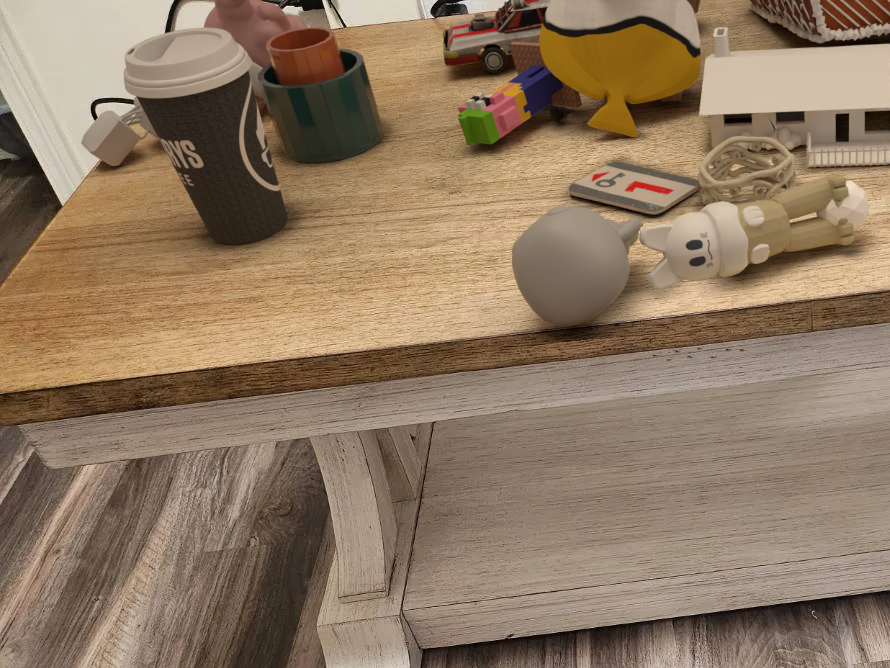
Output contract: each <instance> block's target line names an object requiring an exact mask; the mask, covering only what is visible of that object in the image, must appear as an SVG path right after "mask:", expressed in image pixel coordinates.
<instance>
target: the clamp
mask: <svg viewBox="0 0 890 668" xmlns="http://www.w3.org/2000/svg"><path fill="white" fill-rule="evenodd" d="M262 69H263V68H262V67H261V66H259V65H258V64H256V63H254V62H253V61H252V65H251V67H250V68H249V70H248V71H249V75H250V79H251V82H252V86H253V90H254V94H255V97H257V98H259V99H261V100H263V101H265V100H264V97H263V94H262V91H261V89H260V86H259V83H258V80H257V79H258V73H259V72H260V71H261V70H262ZM133 105H134V107H133V108H131V109H130V110H129V111H127V112H126V113H124V114H121V116H120V115H119V114H117V113H116V112H115V111H113V110H105V111H102V112H101V113H100V114H99V116H98V117H97V118H96V119H95V120H94V122H93V123H92V124H91V125H90V127H89V128H88V129H87V130H86V131H85V133H84V134H83V136H82V139H81V142H80V144H81V145H82V146H83V148H85V149H86V150H87V151H88V153H90V154H91V155H92V156H94V157H96V158H97V159H99V160H100V161H102V162H103V163H105V164H107V165H108V166H112V167H116V166H120V165H121V164H122V162H123V161H124V160H125V159H126V157H127V156H128V155H129V154H130V152H131V151H132V150H133V148H135V146H136V145H137V144H138V143H139V141H142V140H144V139H145V138H147V136H148V135H149V134H150V135H152V136H153V137H154V138H156V139H157V140H159V138H158V136H157V134H156V132H155V130H154V129H153V127H152V125H151V123H150V121H149V119H148V117H147V116H146V114H145V112H144V110H143V108H142V106H141V104H140V103H139V101H138V99H137V97H136V96H134V97H133ZM136 119H138V120H136ZM132 120H135V121H132ZM138 124H139V125H140V127H141V128H142V129H144V130H145V132H144V134H143V135H141V136H140V135H139V134H137V132H136V131H135V130H134V129H133V128H132V127H131V126H133V125H138Z"/></svg>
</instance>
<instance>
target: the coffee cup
mask: <svg viewBox="0 0 890 668" xmlns="http://www.w3.org/2000/svg"><path fill="white" fill-rule="evenodd" d="M124 63H125V68H124V70H123V83H124V89H125V91H126V92H127V93H128V94H130V95H132V96H134V97H137V99H138V101H139V103H140V104H141V106H142V108H143V110H144V112H145V114H146V116H147V117H148V119H149V121H150V123H151V125H152V127H153V129H154V130H155V132H156V134H157V136H158V140H159V142H160V144H161V145H162V148H163V149H164V151H165V153H166V155H167V157H168V159H169V161H170V162H171V165H172V166H173V168H174V170H175V172H176V174H177V175H178V177H179V179H180V181H181V183H182V186H183V187H184V189H185V190H186V191H185V192H187V195H188V196H189V198H190V200H191V202H192V204H193V206H194V207H195V210H196V212H197V214H198V216H199V218H200V220H201V221H202V223H203V225H204V227H205V228H206V230H207V232H208V234H209V237H210V238H211V239H212V240H213V241H214V242H216V243H219V244H223V245H244V244H245V245H246V244H251V243H254V242H257V241H260V240H264V239H266V238H268V237H270V236H272V235H274V234H276V233H278V232H279V231H281V230H282V229H283V227H284V226H286V224H287V222H288V220H289V219H288V218H289V217H288V214H287V210H286V205H285V203H284V198H283V194H282V191H281V188H280V183H279V181H278V177H277V173H276V169H275V165H274V162H273V158H272V154H271V150H270V146H269V143H268V140H267V136H266V131H265V129H264V124H263V120H262V116H261V113H260V110H259V106H258V101H257V98H256V95H255V94H254V90H253V86H252V82H251V79H250V75H249V71H248V70H249V68H250V67H251V65H252V60H251V58H250V57H249V55H248V53H247V52H246V51H245V50H244V48H243V47H242V46H241V45H240V44H238V43H236V42H235V40H234V39H233V37H232V36H231V34H230V33H229V32H227V31H225V30H223V29H218V28H204V27H193V28H192V27H191V28H183V29H179V30H172V31H169V32H165V33H160V34H158V35H155V36H152V37H149V38H147V39H144V40H141V41H140V42H138V43H136V44H135V45H132V47H130V48H129V49H128V50H127V51H126V52H125V54H124Z"/></svg>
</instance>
